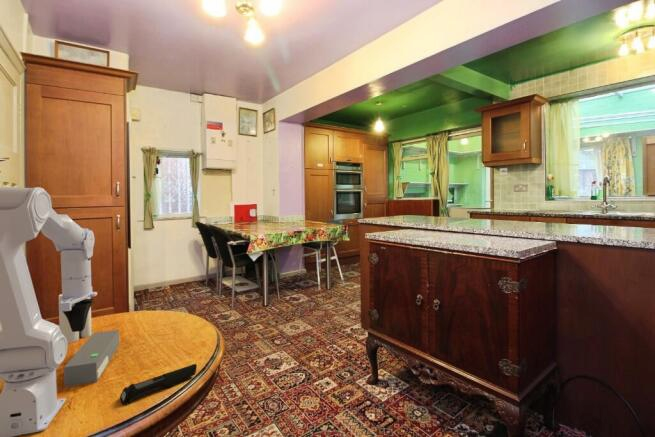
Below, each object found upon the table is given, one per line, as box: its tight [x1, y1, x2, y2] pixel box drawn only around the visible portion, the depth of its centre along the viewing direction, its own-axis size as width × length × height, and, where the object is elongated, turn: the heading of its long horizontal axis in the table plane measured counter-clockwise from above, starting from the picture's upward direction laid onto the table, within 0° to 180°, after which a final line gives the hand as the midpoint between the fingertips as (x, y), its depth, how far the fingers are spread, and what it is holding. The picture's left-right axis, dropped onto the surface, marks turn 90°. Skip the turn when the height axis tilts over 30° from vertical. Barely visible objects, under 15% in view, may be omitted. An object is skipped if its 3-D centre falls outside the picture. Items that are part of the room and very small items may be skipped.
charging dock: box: [63, 329, 120, 388], centre depth 81 cm, size 20×6×5 cm, turn 21°
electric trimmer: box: [119, 363, 198, 406], centre depth 71 cm, size 4×16×3 cm, turn 134°
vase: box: [58, 293, 92, 345], centre depth 97 cm, size 11×7×20 cm, turn 30°
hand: (78, 330), depth 78 cm, fingers closed
